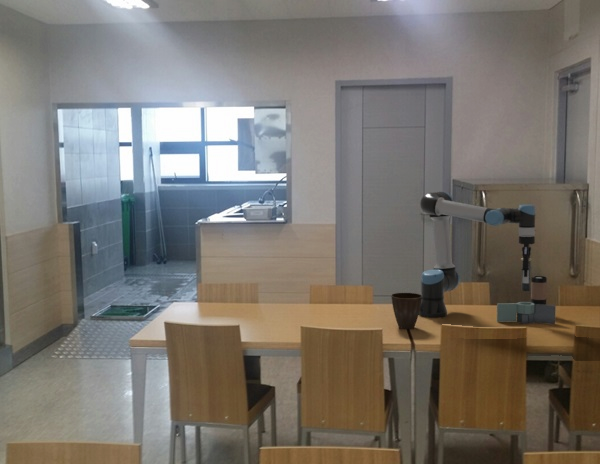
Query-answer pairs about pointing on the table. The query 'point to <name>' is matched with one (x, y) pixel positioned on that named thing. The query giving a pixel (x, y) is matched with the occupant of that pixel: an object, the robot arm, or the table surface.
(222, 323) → the table surface
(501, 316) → the hinge leaf swing
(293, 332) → the table surface
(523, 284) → the hinge pin
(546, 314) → the hinge leaf fixed
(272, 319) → the table surface
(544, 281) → the travel mug
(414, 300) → the plant pot
